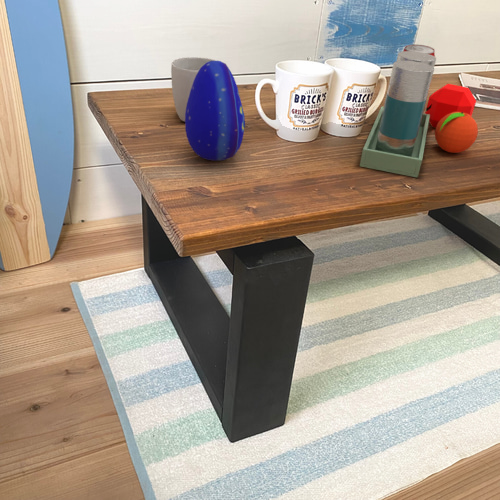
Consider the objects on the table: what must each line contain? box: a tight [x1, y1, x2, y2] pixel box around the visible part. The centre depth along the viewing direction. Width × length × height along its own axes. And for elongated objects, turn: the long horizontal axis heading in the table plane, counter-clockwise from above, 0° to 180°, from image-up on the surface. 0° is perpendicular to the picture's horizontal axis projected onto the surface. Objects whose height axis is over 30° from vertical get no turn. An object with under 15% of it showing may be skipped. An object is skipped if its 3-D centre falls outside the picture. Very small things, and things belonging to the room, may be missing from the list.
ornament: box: [184, 60, 246, 162], centre depth 78 cm, size 11×9×15 cm
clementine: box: [434, 112, 479, 154], centre depth 88 cm, size 8×7×7 cm
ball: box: [424, 83, 477, 129], centre depth 99 cm, size 8×8×8 cm
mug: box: [170, 56, 217, 123], centre depth 95 cm, size 13×9×10 cm
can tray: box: [359, 105, 430, 178], centre depth 90 cm, size 9×23×3 cm, turn 161°
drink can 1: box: [396, 50, 437, 68], centre depth 86 cm, size 6×6×15 cm
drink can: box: [375, 60, 435, 157], centre depth 81 cm, size 6×6×15 cm
